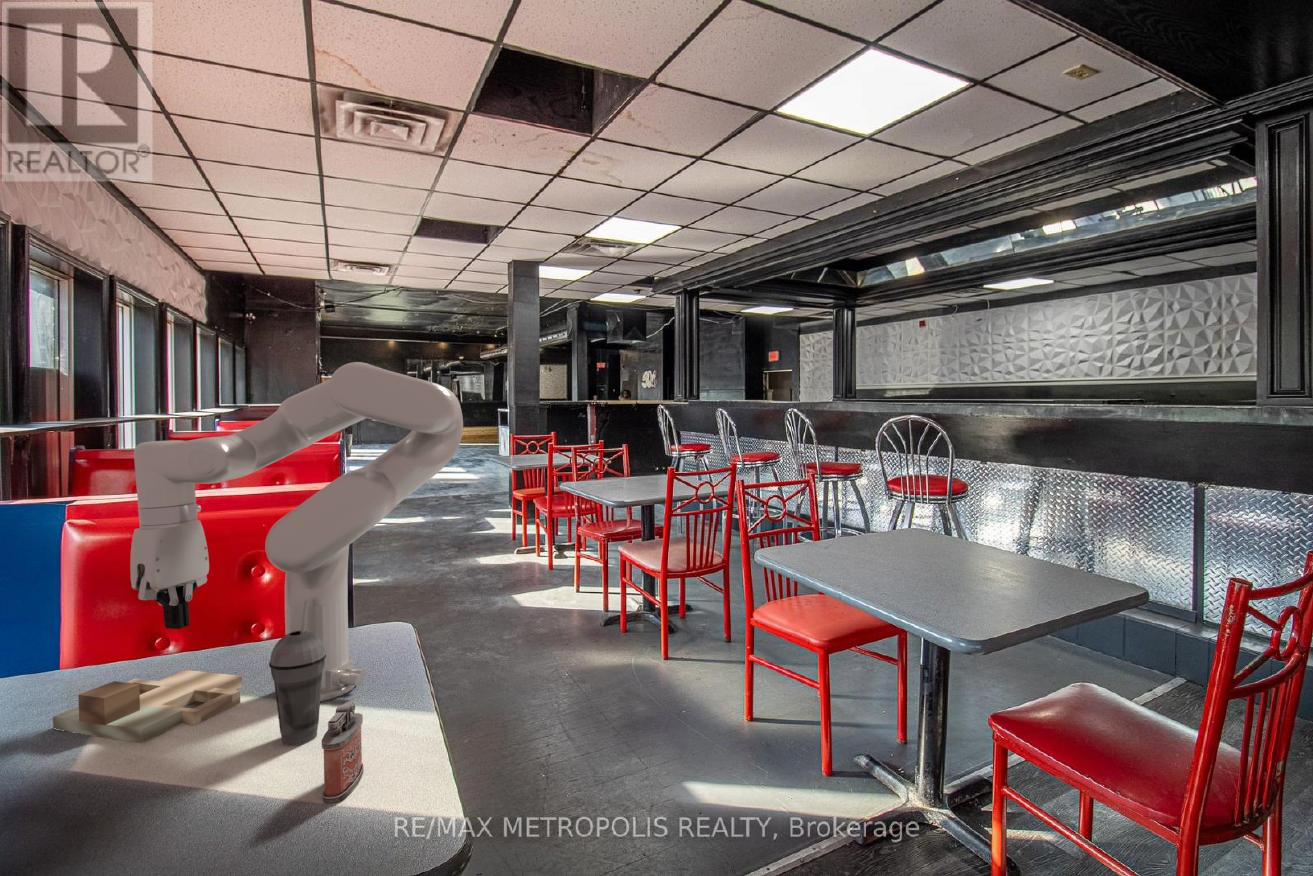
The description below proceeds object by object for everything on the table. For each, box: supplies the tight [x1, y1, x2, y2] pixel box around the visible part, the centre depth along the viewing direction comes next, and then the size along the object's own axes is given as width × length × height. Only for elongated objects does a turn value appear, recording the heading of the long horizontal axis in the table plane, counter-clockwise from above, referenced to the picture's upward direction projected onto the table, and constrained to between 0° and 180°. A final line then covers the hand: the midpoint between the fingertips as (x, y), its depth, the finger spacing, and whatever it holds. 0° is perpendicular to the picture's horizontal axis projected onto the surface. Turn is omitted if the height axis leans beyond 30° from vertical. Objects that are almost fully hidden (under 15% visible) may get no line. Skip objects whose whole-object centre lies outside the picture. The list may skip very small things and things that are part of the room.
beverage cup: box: [268, 601, 326, 746], centre depth 93 cm, size 7×7×20 cm
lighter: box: [321, 700, 365, 806], centre depth 81 cm, size 8×3×10 cm, turn 5°
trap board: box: [52, 669, 243, 744], centre depth 103 cm, size 22×19×2 cm
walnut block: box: [77, 680, 140, 725], centre depth 96 cm, size 5×5×4 cm
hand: (177, 627), depth 105 cm, fingers closed
